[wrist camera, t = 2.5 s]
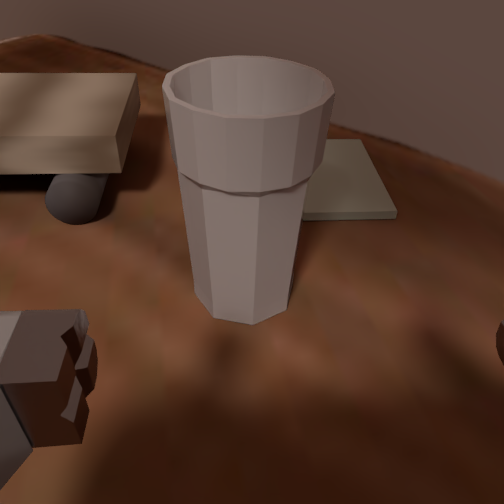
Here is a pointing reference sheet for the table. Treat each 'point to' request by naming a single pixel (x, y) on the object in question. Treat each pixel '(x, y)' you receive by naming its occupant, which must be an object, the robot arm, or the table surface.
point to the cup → (245, 174)
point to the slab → (68, 133)
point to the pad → (347, 186)
